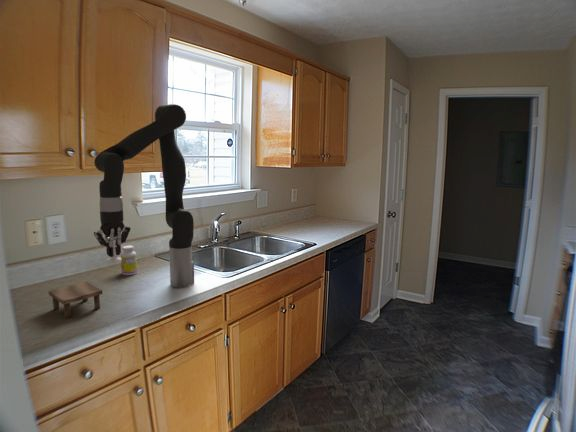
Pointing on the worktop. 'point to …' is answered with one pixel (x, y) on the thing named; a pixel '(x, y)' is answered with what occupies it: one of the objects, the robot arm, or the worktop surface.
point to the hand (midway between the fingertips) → (113, 255)
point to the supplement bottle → (128, 261)
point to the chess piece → (114, 254)
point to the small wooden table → (75, 296)
